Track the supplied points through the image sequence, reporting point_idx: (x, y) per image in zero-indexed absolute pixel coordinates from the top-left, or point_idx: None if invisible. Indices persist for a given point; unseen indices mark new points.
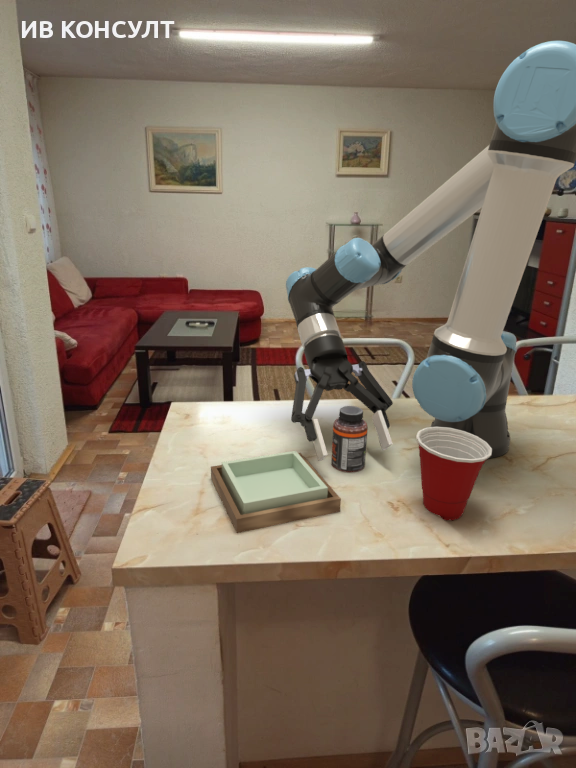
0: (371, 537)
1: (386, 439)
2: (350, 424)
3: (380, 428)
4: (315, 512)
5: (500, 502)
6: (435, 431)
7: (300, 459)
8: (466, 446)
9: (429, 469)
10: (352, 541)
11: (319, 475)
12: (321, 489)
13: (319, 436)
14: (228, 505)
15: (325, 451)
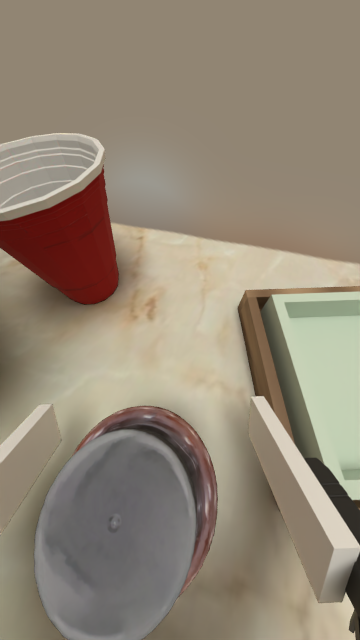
0: (213, 264)
1: (41, 421)
2: (163, 433)
3: (9, 477)
4: None
5: (8, 279)
6: None
7: (320, 427)
8: None
9: (107, 207)
10: (237, 264)
11: (266, 370)
12: (283, 295)
13: (290, 445)
14: None
15: (258, 403)
